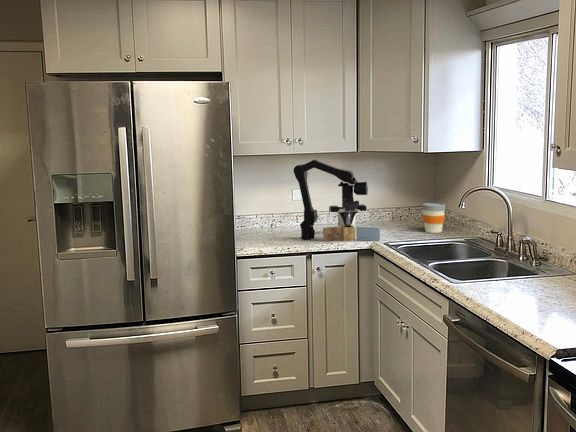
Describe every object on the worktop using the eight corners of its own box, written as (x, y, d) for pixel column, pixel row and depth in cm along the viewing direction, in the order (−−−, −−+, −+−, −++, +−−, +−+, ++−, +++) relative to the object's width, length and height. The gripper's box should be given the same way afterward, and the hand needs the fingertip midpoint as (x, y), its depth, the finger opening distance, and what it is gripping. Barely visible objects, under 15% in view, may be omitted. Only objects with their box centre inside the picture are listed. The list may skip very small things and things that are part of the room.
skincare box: (337, 234, 339) (336, 206, 336) (342, 232, 345) (341, 205, 342) (351, 235, 335) (351, 207, 333) (356, 233, 341) (355, 205, 338)
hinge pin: (345, 230, 321) (344, 211, 319) (343, 229, 324) (343, 210, 323) (352, 229, 321) (352, 211, 320) (350, 228, 325) (350, 210, 323)
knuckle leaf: (324, 242, 319) (324, 228, 318) (322, 239, 325) (322, 226, 324) (355, 240, 321) (354, 227, 320) (352, 238, 327) (352, 225, 326)
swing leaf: (356, 239, 322) (356, 227, 321) (356, 239, 323) (356, 226, 322) (379, 240, 318) (379, 227, 317) (379, 240, 319) (379, 227, 318)
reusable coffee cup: (440, 233, 333) (440, 206, 331) (418, 232, 340) (418, 205, 338) (448, 230, 344) (448, 203, 341) (426, 228, 351) (427, 202, 348)
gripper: (333, 197, 311) (333, 228, 313) (369, 195, 313) (369, 226, 316) (328, 194, 322) (329, 224, 324) (363, 193, 324) (363, 222, 327)
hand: (347, 224), depth 322 cm, fingers closed on hinge pin, 3 cm apart
